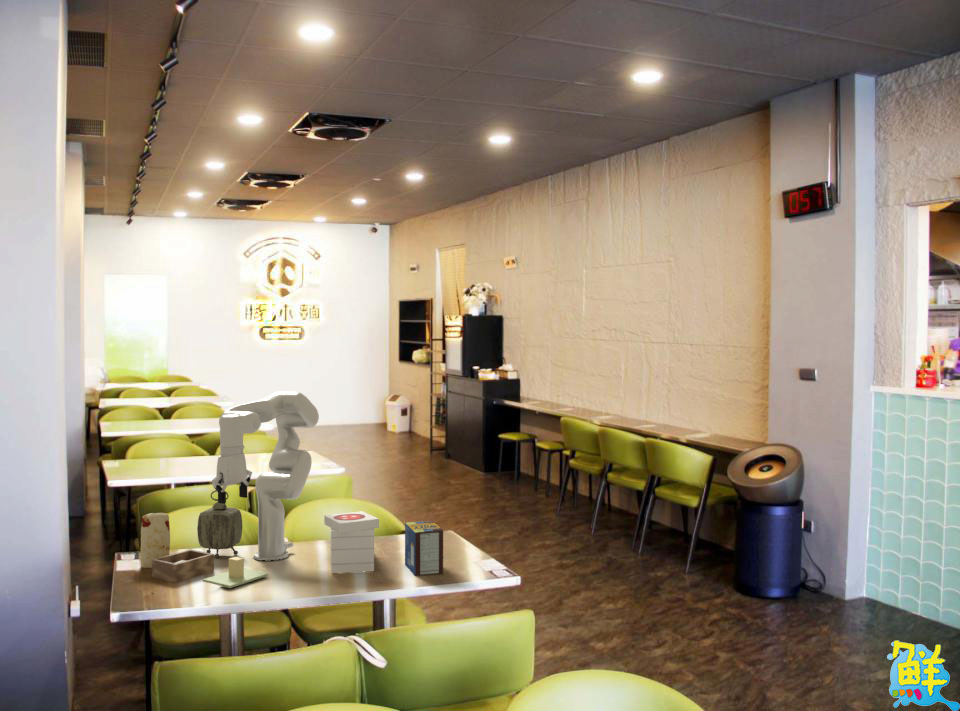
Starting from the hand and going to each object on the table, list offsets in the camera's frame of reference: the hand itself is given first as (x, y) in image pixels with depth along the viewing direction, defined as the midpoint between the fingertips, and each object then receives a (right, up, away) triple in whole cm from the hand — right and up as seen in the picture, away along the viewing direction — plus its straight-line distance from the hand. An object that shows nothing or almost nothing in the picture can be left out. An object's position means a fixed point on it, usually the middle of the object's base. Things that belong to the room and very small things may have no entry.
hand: (232, 500), depth 283 cm
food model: (-30, -26, +9) cm, 41 cm away
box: (-17, -26, -1) cm, 31 cm away
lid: (+2, -27, -4) cm, 27 cm away
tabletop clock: (-13, -26, +26) cm, 39 cm away
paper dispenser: (+37, -27, +19) cm, 50 cm away
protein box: (+65, -27, +12) cm, 71 cm away
